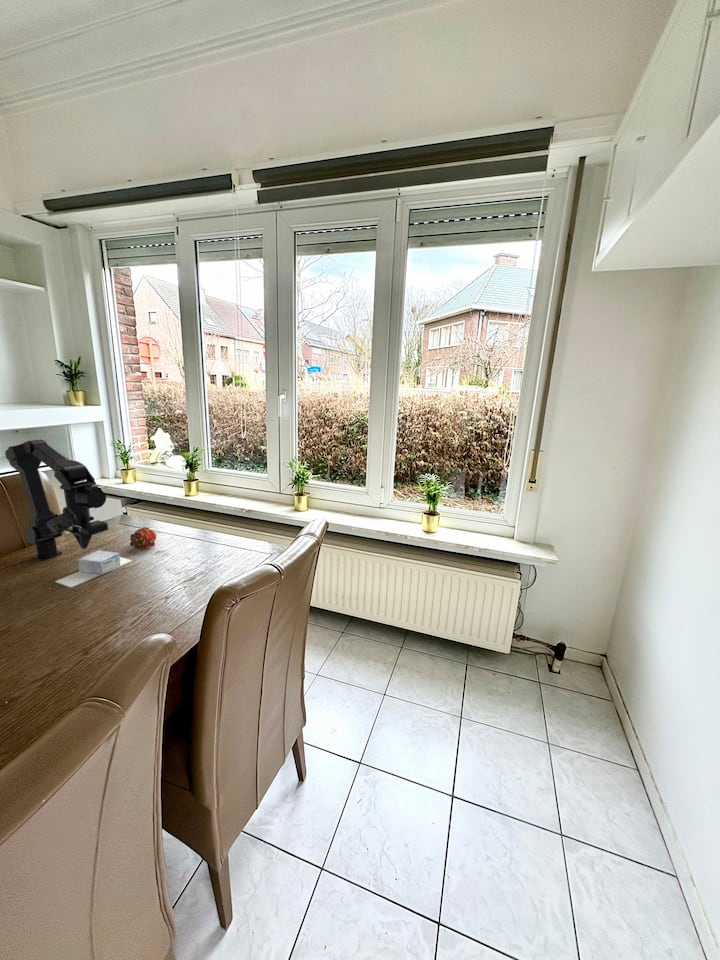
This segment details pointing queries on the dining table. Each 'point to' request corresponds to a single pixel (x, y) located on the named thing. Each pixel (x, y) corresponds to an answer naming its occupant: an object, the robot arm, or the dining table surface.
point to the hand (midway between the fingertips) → (84, 548)
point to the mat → (85, 576)
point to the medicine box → (99, 562)
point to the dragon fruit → (143, 538)
